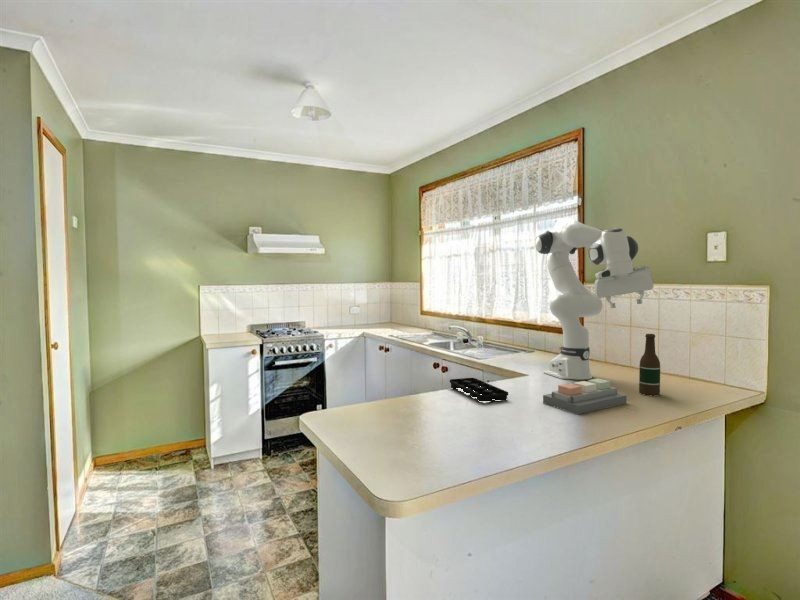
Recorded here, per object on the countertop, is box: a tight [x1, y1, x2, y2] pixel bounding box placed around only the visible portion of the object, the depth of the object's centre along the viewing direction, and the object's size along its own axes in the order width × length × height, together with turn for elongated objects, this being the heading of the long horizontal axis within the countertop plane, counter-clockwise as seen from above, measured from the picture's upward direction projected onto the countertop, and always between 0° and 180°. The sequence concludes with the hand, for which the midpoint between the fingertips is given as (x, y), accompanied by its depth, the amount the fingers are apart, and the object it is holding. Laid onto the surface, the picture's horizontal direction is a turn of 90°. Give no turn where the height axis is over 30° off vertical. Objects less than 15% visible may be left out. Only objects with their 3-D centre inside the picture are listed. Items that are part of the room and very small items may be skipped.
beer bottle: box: [638, 333, 661, 397], centre depth 179 cm, size 8×8×24 cm
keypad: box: [542, 386, 628, 415], centre depth 168 cm, size 16×26×5 cm, turn 118°
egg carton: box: [449, 377, 509, 402], centre depth 184 cm, size 18×30×4 cm, turn 32°
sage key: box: [587, 378, 611, 390], centre depth 171 cm, size 6×6×3 cm
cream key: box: [573, 380, 596, 393], centre depth 168 cm, size 6×6×3 cm
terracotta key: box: [557, 383, 581, 396], centre depth 164 cm, size 6×6×3 cm
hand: (626, 305), depth 172 cm, fingers open, 8 cm apart
